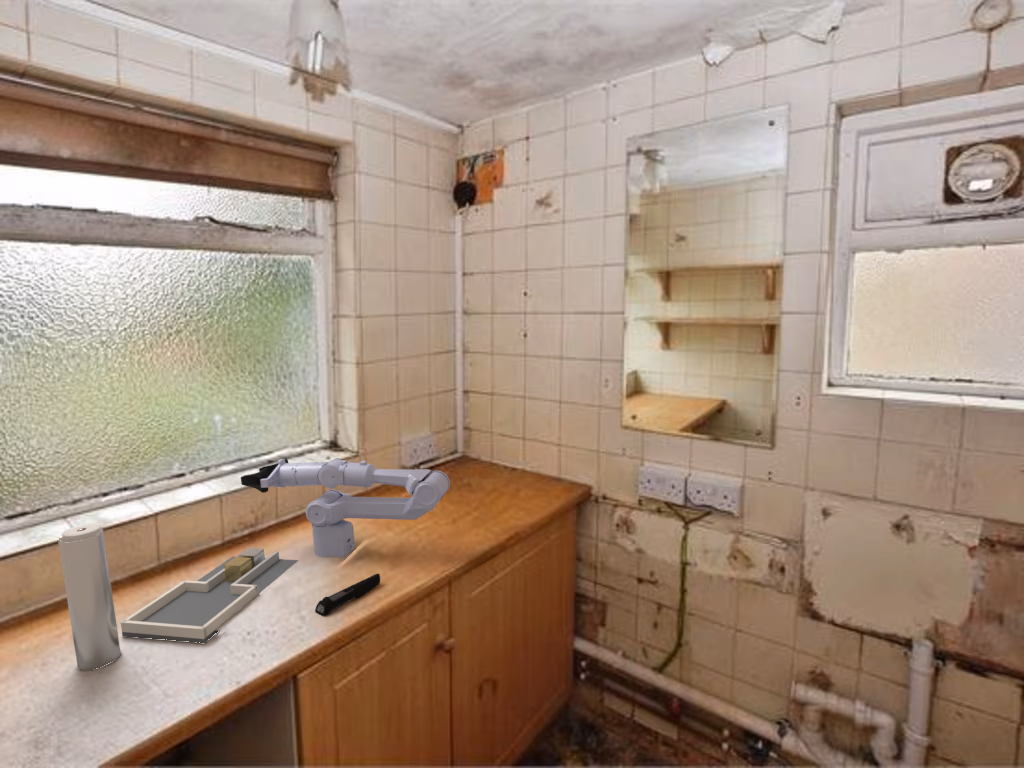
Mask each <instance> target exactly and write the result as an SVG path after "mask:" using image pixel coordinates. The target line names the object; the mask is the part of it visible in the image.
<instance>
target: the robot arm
mask: <svg viewBox="0 0 1024 768" xmlns="http://www.w3.org/2000/svg"><path fill="white" fill-rule="evenodd" d="M258 470H259V471H258V472H254V473H250V474H245V475H243V476H240V483H241V486H243V487H249V488H253V489H255V490H257V491H259V492H261V493H268V491H269V488H270V487H273V488H287V487H307V486H323V487H325V488H327V489H329V490H326V491H325V492H324V493H323V494H322V495H320V496H319V497H318V498H316V499H314V500H313V501H311V502H309V503H308V504H307V505H306V508H305V517H306V519H307V520H308V522H309V523H310V524H311V527H312V537H313V538H312V540H313V541H312V542H313V550H314V555H315V556H316V557H320V558H329V557H330V558H331V557H333V558H343V560H342V562H344V561H345V560H346V559H347V558H348V557H349V556H350V555H351V554H352V553H353V552H354V551H355V550H356V549H357V547H356V545H355V532H354V526H353V525H354V524H353V523H352V521H349V520H345V519H363V520H365V519H366V520H371V519H372V520H406V521H408V520H409V521H412V520H413V521H414V520H419V519H420V518H421V517H423V516H424V515H426V514H427V513H429V512H431V511H433V510H434V509H435V507H436V506H437V505H438V503H439V502H440V501H441V500H442V499H443V498H444V496H445V495H446V494H447V492H448V490H449V489H450V485H451V483H450V479H449V477H448V475H447V474H446V473H445V472H443V471H441V470H431V469H427V468H422V469H421V468H420V469H405V468H404V469H401V468H400V469H393V468H392V469H391V468H388V469H387V468H384V469H383V468H377V467H376V466H375V465H374V464H373V463H368V461H367V460H361V461H359V462H351V461H350V462H348V460H347V459H345V460H344V459H343V460H342V459H341V458H339V457H337V458H333V459H332V460H331V461H330V462H329V461H323V462H322V461H320V462H319V461H316V462H311V461H310V462H290V463H289V460H288V459H287V458H281V459H279V460H278V461H277V463H275V464H274V463H273V464H269V465H266V466H262V467H259V468H258ZM374 484H382V485H389V486H398V487H403V488H404V489H405V490H406V491H407V493H408V495H409V496H411V497H393V496H392V497H389V496H388V497H387V496H386V497H382V496H381V497H380V496H352V495H351V494H350V493H348V492H342V491H340V490H337V489H335V488H337V487H338V486H344V487H345V486H347V487H349V486H350V487H362V488H371V487H372V486H373V485H374Z"/></svg>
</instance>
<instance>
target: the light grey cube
mask: <svg viewBox="0 0 1024 768" xmlns="http://www.w3.org/2000/svg"><path fill="white" fill-rule="evenodd" d="M237 555H238V556H237V557H243V558H251V563H252V569H253V568H254V567H255V566H257V565H258V564H259V563H261V562H262V561H263V560H265V558H266V556H265V549H264V548H262V547H261V548H260V547H259V548H257V547H248V548H247V549H245V550H244V551H241V553H239V554H237Z"/></svg>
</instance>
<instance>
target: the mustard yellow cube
mask: <svg viewBox="0 0 1024 768" xmlns="http://www.w3.org/2000/svg"><path fill="white" fill-rule="evenodd" d="M234 557H235V558H233V559H232V560H231V561H229V562H228V563H226V564H225V565H224V569H225V578H226V581H227V582H235V581H237V580H238V579H239V578H241V577H242V576H243V575H245V574H246V573H247V572H249V571H250V570H251V569H252V563H251V558H243V557H238V556H234Z"/></svg>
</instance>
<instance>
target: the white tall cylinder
mask: <svg viewBox="0 0 1024 768" xmlns="http://www.w3.org/2000/svg"><path fill="white" fill-rule="evenodd" d="M58 539H59V540H58V541H57V542H58V543H57V544H58V548H59V549H58V550H59V553H60V554H59V556H60V560H61V561H60V562H61V567H62V575H63V580H64V582H63V583H64V586H65V587H64V588H65V594H66V600H67V606H68V614H69V620H70V626H71V632H72V638H73V639H72V640H73V645H74V652H75V653H74V654H75V657H76V664H77V669H78V668H79V669H80V671H82V670H91V671H94V670H93V669H96V668H100V667H102V666H104V665H106V664H108V663H110V662H112V661H114V660H115V659H117V658H118V657H119V658H120V656H121V655H120V654H121V653H122V651H121V650H122V649H121V645H120V639H119V632H118V625H117V624H118V623H117V617H116V611H115V604H114V598H113V597H114V596H113V589H112V584H111V583H112V582H111V575H110V568H109V562H108V554H107V547H106V541H105V533H104V529H103V527H102V525H101V524H100V523H86V524H79V525H77V526H73V527H70V528H68V529H65V530H64V531H63V532H62V533H61V536H60V537H59V538H58ZM119 655H120V656H119ZM119 658H118V659H119ZM118 659H117V660H118ZM115 661H116V660H115ZM115 661H114V662H115ZM102 668H103V667H102ZM79 669H78V670H79ZM100 669H101V668H100ZM96 670H97V669H96Z"/></svg>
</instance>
